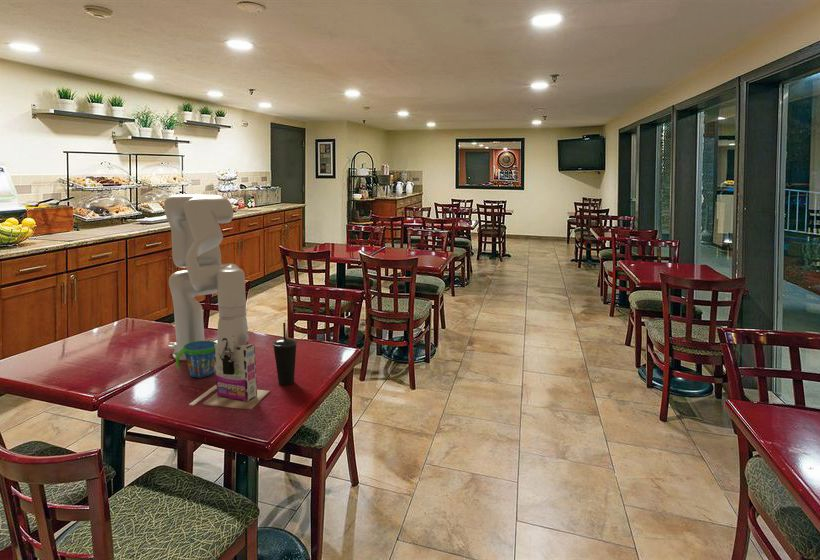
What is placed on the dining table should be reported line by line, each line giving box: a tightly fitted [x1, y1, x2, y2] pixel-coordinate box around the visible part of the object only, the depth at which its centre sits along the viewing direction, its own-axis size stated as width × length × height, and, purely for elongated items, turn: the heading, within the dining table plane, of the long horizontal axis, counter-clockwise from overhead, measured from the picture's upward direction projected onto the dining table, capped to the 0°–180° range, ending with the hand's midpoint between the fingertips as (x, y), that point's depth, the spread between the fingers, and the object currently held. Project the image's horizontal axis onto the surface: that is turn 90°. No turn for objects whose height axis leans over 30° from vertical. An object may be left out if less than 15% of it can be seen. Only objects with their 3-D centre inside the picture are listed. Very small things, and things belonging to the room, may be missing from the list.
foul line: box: [188, 384, 217, 406], centre depth 152 cm, size 2×14×1 cm, turn 171°
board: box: [202, 389, 271, 410], centre depth 151 cm, size 15×12×1 cm
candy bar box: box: [214, 342, 258, 402], centre depth 149 cm, size 11×5×16 cm, turn 70°
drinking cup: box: [272, 322, 298, 387], centre depth 161 cm, size 8×8×20 cm
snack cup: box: [175, 340, 217, 379], centre depth 168 cm, size 16×10×10 cm
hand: (235, 368), depth 149 cm, fingers open, 7 cm apart
